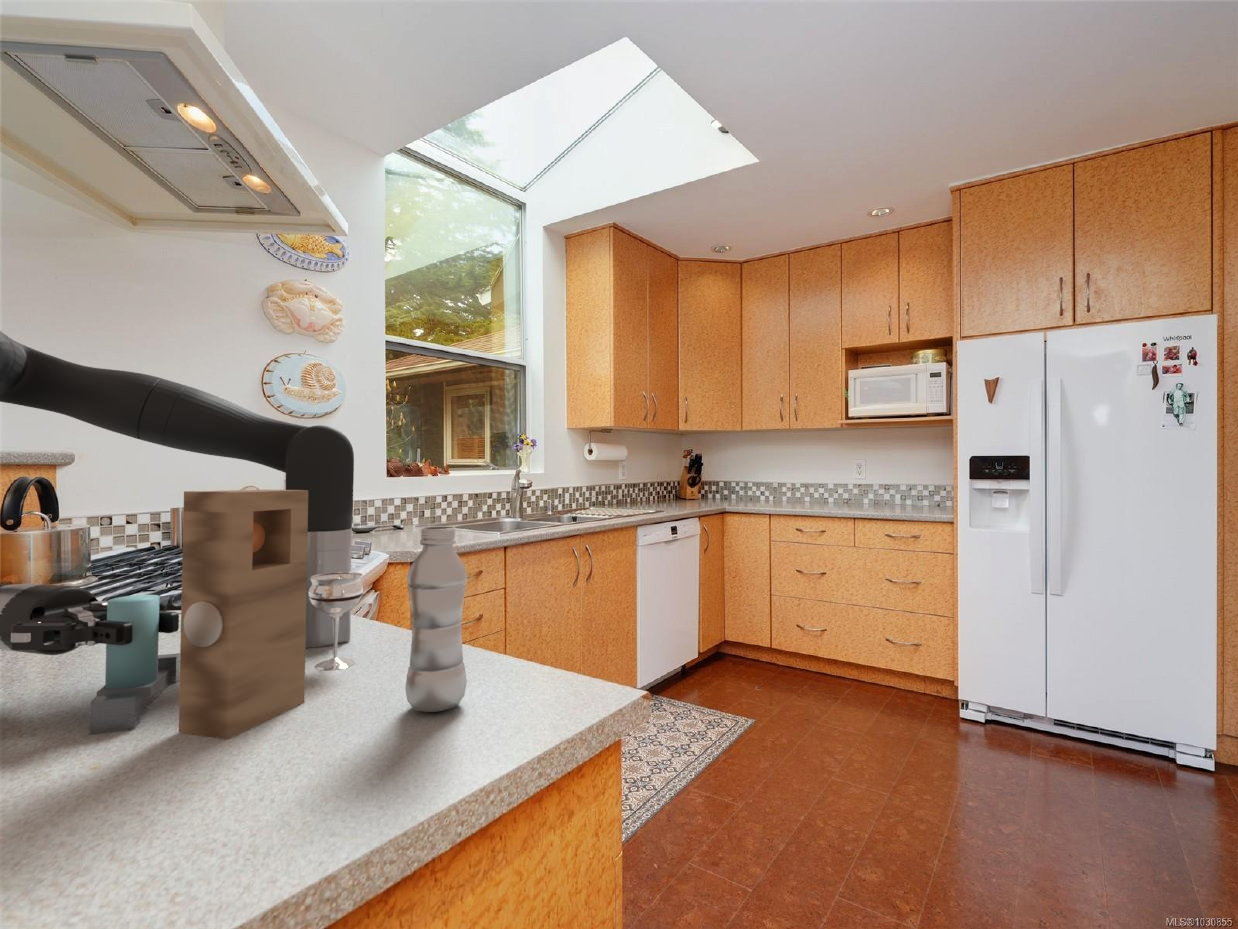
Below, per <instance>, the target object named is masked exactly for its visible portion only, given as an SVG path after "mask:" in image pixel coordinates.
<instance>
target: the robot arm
mask: <svg viewBox="0 0 1238 929" xmlns="http://www.w3.org/2000/svg"><path fill="white" fill-rule="evenodd" d="M0 403H6V404H12V405H17V406H22V407H23V406H24V407H28V408H32V409H33V408H34V409H38V410H43V411H48V412H53V413H56V414H60V415H64V416H67V417H70V418H73V419H76V420H79V421H81V422H84V423H87V424H90V425H92V426H95V427H98V428H101V429H104V430H106V431H110V432H112V433H117V434H120V435H124V436H127V437H130V438H133V439H137V440H141V441H144V442H148V443H151V444H154V445H160V446H163V447H167V448H172V449H176V450H180V451H185V452H186V451H187V452H191V453H195V454H196V453H197V454H203V455H208V456H216V457H223V458H229V459H230V458H231V459H237V460H242V461H246V462H247V461H248V462H251V463H255V464H259V465H261V466H265V467H268V468H270V469H273V470H276V471H279V472H282V473H285V490H308V535H307V589H306V642H305V648H317V647H324V646H331V645H333V618H331V617H330V616H329V614H326V613H324V612H321V611H319V610H318V609H317V608H316V607H314V606H313V605H312V604H311V601H310V599H309V589H310V586H311V585H312V582H311V580H310V578H309V577H310V576H313V575H317V574H323V573H333V572H352V541H353V540H352V533H353V532H352V531H353V530H352V528H353V513H354V511H353V509H354V481H355V480H354V477H355V476H354V475H355V474H354V472H355V456H354V455H355V454H354V453H355V452H354V449H353V445H352V443H351V442H350V440H349V438H348V436H346V435H345V434H344V433H343V432H341V431H340V430H338V429H337V428H335V427H332V426H328V425H323V424H322V425H320V424H319V425H311V426H306V425H300V424H297V423H293V422H287V421H283V420H278V419H274V418H271V417H267V416H264V415H260V414H259V413H257V412H254V411H251V410H249V409H248V408H245V407H243V406H240V405H238V404H236V403H233V402H232V401H229V400H227V399H224V398H221V397H219V396H217V395H215V394H212V393H209V392H206V391H204V390H201V389H199V388H198V389H197V388H196V387H195V388H194V387H192V386H189V385H186V384H181V383H179V382H176V381H173V380H168V379H165V378H163V377H158V376H155V375H151V374H145V373H141V372H134V371H127V370H119V369H110V368H100V367H93V366H87V365H82V364H78V363H75V362H71V361H67V360H65V359H62V358H60V357H56V356H53V355H50V354H48V353H44V352H42V351H39V350H36V349H34V348H32V347H29V346H27V345H25V344H22V343H20V342H18V341H16V340H14V339H12V338H11V337H9V336H8V335H7V334H5V333H4V332H3V331H1V330H0ZM107 601H108V600H98V598H96V596H95V595H94V594H93V593H92V592H91V591H89V590H87V589H85V588H82V587H80V586H74V585H73V586H72V585H59V584H45V583H17V584H12V583H0V650H3V651H8V652H9V651H10V652H20V653H27V654H36V655H47V656H59V655H63V654H67V653H70V652H72V651H74V650H76V649H79V647H83V646H89V647H92V646H95V645H98V644H102V645H104V644H105V645H106V644H112V645H126V644H130V643H131V642H132V634H133V626H132V624H131V623H130V622H119V621H107ZM167 609H168V604H167V603H163V602H159V633H162V634H164V633H165V634H172V633H175V632H178V631H179V629H180V628H179V627H180V623H179V622H180V614H179V613H178V612H177V611H168V610H167ZM351 612H352V609H350V610H348V611H346V612H344V613H342V614H343V615H342V616H341V617H339V626H338V642H337V644H338V643H344V642H350V640H351V639H350V638H351V626H352V625H351V624H352V623H351V616H352V613H351Z"/></svg>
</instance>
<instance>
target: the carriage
mask: <svg viewBox="0 0 1238 929" xmlns="http://www.w3.org/2000/svg"><path fill="white" fill-rule="evenodd" d="M106 601H107V621H119V622H130V623H131V624H132V626H133V634H132V642H131V643H130V644H126V645H112V644H105V645H106V646H105V647H106V648H105V650H106V651H105V677H104V678H105V680H104V683H105V685H103V686H102V687H101V688H100V689H98V691H96V694H95V695H96V696H95V698H96V697H97V696H106V695H116V694H125V693H134V692H141V694H140V697H147V696H151V695H152V694H153V693H154V692H155V691H156V690H157V689H158V688H159V687H160V686H161V685H162V684H163V683H164V673H163V674H158V655H159V641H160V640H159V636H160V635H159V634H160V632H159V603H160V595H158V594H136V595H135V594H134V595H125V596H119V597H115V598H110V599H108V600H106Z"/></svg>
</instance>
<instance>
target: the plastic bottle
mask: <svg viewBox="0 0 1238 929" xmlns="http://www.w3.org/2000/svg"><path fill="white" fill-rule="evenodd" d="M420 534H421V535H420V536H421V538H420V541H419V544H420V546H421V545H422V549H421V551H420V552H419V554H417V556H416V557H415V558H414V561H413V562H412V563H411V565H410V566H409V570H408V572H407V575H406V581H407V582H406V584H407V586H408V587H407V589H408V591H407V592H408V599H409V605H410V615H411V625H412V627H411V645H410V646H411V647H410V657H409V666H408V668H407V674H406V681H405V687H404V688H405V694H406V700H407V702H408V704H409V706H410V707H411V709H413V710H415V711H416V712H417V711H418V712H422V713H435V712H442V711H446V710H450V709H452V708H454V707H457V706H458V705H459V704H460V703H461V701H462V700H463V699H464V697H465V694H466V690H467V689H466V688H467V682H468V680H467V672H466V666H465V662H464V656H463V654H464V653H463V642H462V641H463V638H462V627H463V626H462V621H463V607H464V600H465V596H466V595H465V594H466V588H467V580H468V573H467V570H466V566H465V564H464V562H463V561H462V559H461V558H460V556H459V555H458V553H457V552H456V551H455V550H454V545H456V544H457V539H456V527H455V526H445V525H444V526H441V525H439V526H435V525H434V526H426V527H425V526H423V527H421V533H420Z"/></svg>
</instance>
